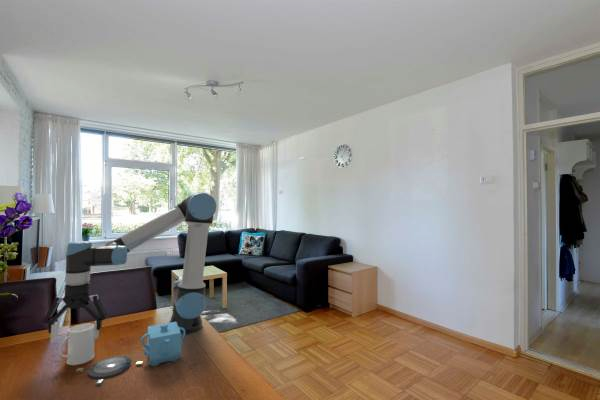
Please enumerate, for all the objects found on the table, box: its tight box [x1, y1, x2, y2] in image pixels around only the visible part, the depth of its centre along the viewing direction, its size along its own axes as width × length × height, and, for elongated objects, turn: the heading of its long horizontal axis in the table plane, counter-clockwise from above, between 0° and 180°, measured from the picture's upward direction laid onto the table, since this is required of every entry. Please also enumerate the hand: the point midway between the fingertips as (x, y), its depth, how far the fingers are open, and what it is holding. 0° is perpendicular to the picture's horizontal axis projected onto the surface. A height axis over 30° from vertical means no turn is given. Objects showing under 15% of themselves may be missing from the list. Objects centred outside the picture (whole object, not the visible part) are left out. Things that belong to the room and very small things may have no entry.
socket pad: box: [75, 355, 144, 386], centre depth 104 cm, size 21×17×1 cm
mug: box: [58, 322, 95, 366], centre depth 111 cm, size 12×8×12 cm
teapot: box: [140, 322, 186, 367], centre depth 111 cm, size 18×16×13 cm
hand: (75, 339), depth 110 cm, fingers open, 13 cm apart
